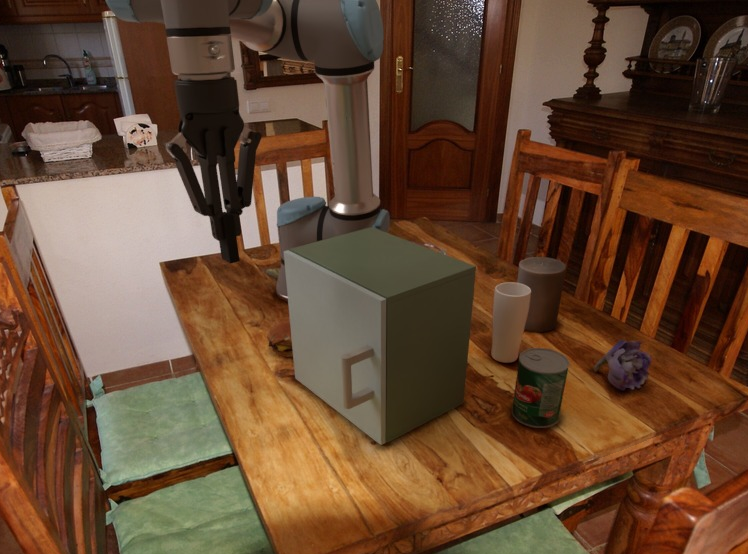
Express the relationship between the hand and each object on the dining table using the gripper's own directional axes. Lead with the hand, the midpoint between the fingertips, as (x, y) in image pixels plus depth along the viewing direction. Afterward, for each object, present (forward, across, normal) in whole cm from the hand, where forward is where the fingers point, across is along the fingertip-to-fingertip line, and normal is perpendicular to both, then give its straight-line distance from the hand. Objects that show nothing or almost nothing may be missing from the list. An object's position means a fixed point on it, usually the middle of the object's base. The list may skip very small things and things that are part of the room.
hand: (230, 259), depth 82 cm
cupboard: (+30, +24, -4) cm, 39 cm away
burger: (+31, +20, +20) cm, 42 cm away
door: (+30, +12, -4) cm, 33 cm away
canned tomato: (+31, +40, -27) cm, 57 cm away
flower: (+31, +60, -30) cm, 74 cm away
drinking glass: (+31, +51, -11) cm, 60 cm away
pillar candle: (+31, +68, -5) cm, 75 cm away
